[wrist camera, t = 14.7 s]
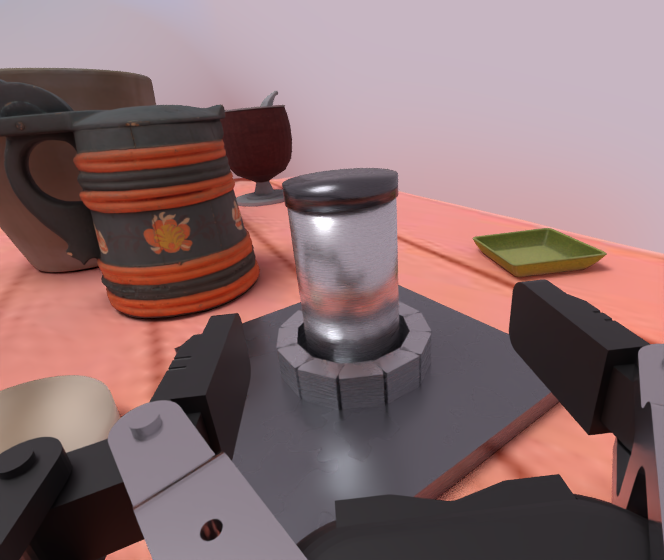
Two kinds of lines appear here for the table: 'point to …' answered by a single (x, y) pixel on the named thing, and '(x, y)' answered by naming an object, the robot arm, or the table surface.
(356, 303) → the glass jar with lid
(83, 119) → the beer stein
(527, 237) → the olive green shallow tray
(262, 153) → the mate gourd
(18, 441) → the pedestal
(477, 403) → the hub plate
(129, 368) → the table surface
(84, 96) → the plant pot
